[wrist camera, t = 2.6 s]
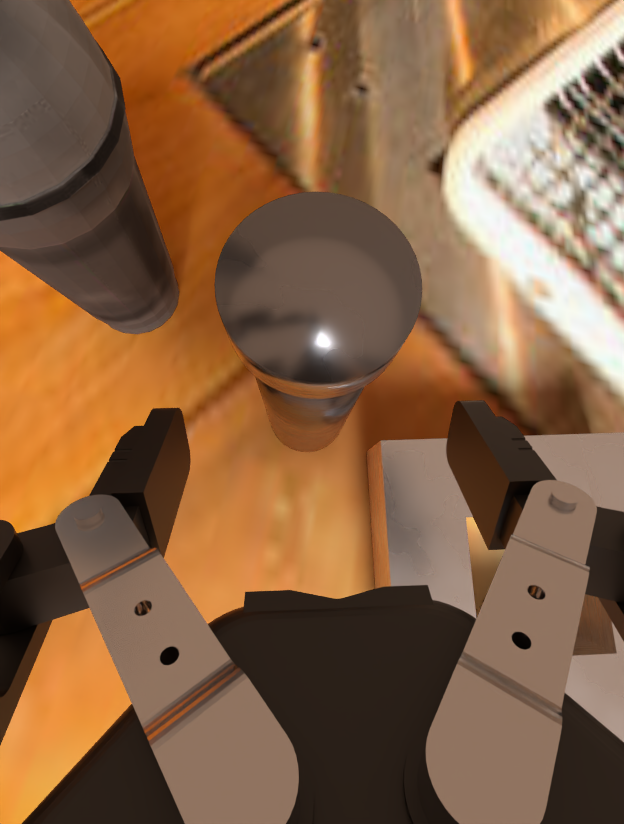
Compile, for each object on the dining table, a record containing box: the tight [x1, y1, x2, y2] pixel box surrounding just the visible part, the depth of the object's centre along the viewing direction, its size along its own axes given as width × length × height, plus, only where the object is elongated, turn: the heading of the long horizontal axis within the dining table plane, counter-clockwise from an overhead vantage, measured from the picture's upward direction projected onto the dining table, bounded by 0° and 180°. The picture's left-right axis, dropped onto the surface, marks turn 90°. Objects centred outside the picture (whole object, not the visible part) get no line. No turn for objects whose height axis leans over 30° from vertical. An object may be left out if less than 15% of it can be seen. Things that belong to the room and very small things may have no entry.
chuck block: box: [367, 433, 624, 742], centre depth 20 cm, size 12×12×4 cm
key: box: [215, 192, 422, 452], centre depth 16 cm, size 4×4×14 cm
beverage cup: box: [0, 0, 179, 334], centre depth 14 cm, size 7×7×20 cm
